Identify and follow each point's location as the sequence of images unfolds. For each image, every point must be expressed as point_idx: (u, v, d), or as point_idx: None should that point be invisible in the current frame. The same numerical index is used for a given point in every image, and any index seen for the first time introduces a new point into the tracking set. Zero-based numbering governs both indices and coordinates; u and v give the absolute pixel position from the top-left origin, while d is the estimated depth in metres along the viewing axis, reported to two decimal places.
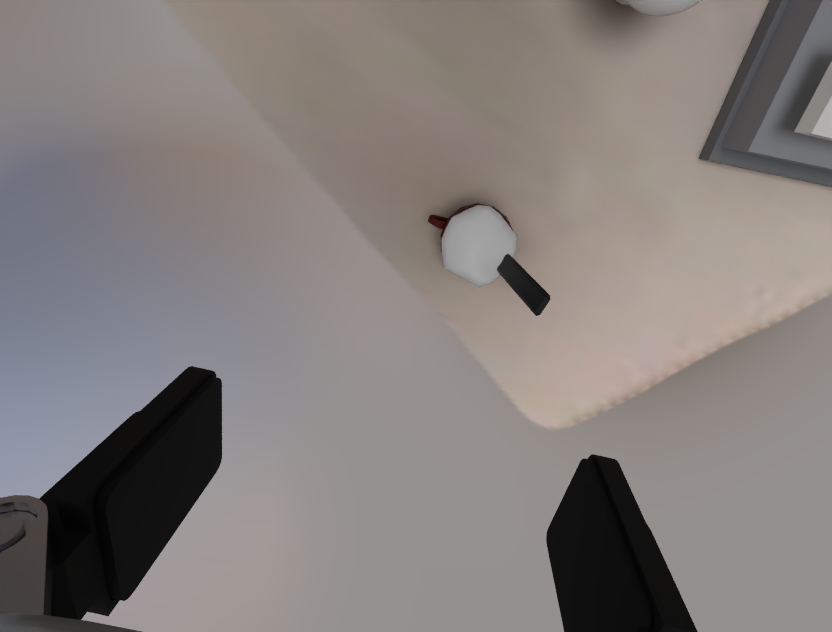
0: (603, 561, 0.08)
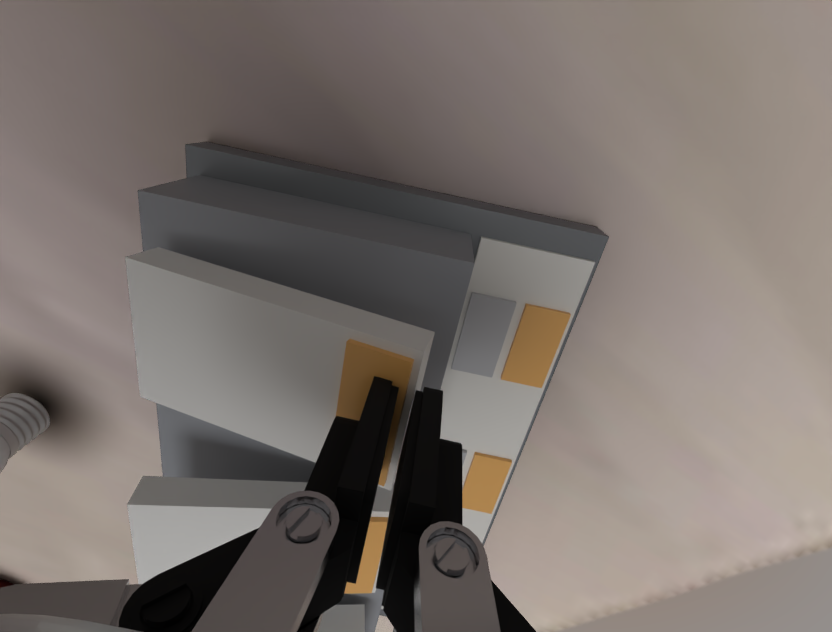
0: (401, 467, 0.10)
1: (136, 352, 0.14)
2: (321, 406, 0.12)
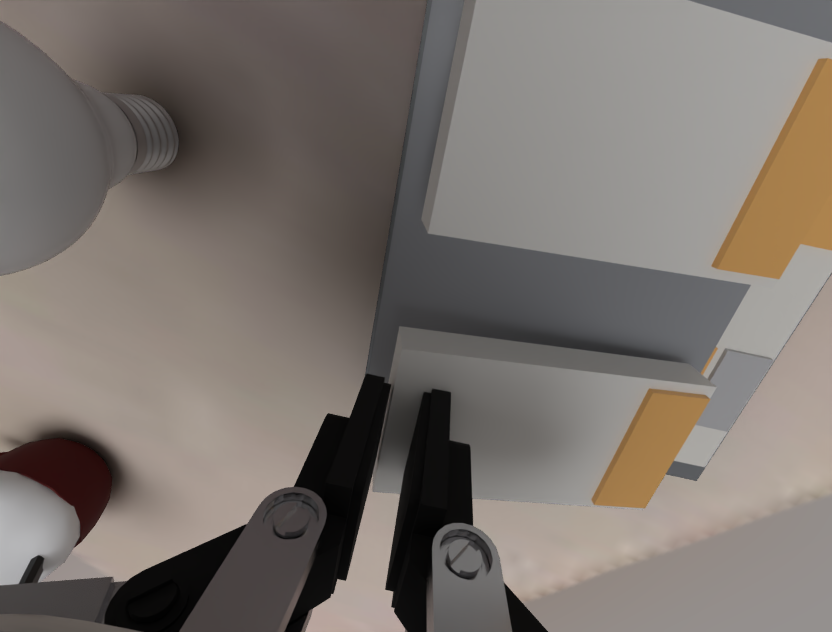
0: (410, 469, 0.10)
1: None
2: None
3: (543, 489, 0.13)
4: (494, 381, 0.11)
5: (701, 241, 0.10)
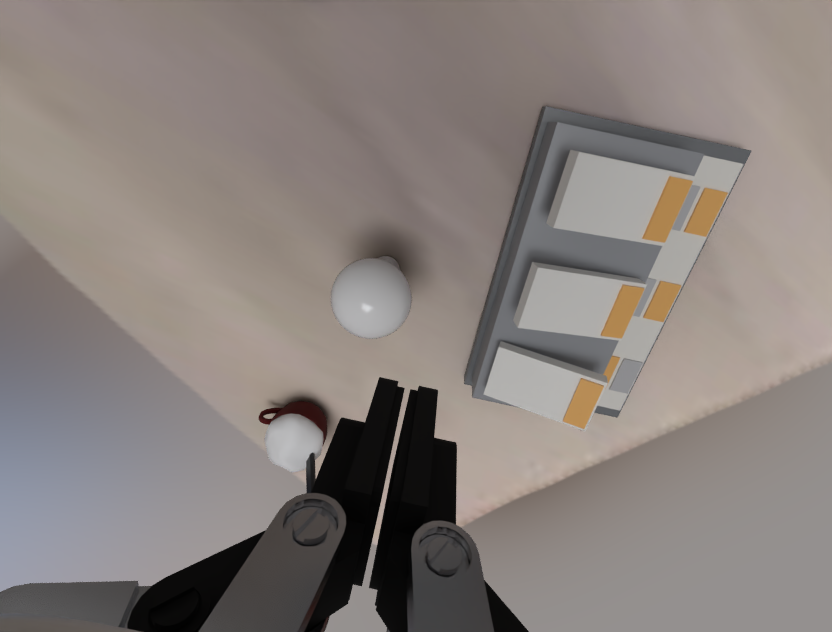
0: (394, 467, 0.10)
1: (561, 202, 0.29)
2: (646, 210, 0.30)
3: (543, 409, 0.37)
4: (526, 363, 0.36)
5: (596, 328, 0.34)
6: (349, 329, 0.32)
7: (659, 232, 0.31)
